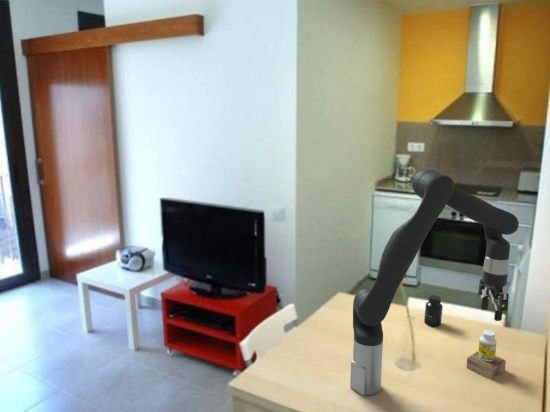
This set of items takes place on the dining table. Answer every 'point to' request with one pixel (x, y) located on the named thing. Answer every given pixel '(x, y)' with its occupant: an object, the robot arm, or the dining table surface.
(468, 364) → the wooden box
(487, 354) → the supplement bottle
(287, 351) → the dining table surface
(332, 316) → the dining table surface
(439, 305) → the supplement bottle
